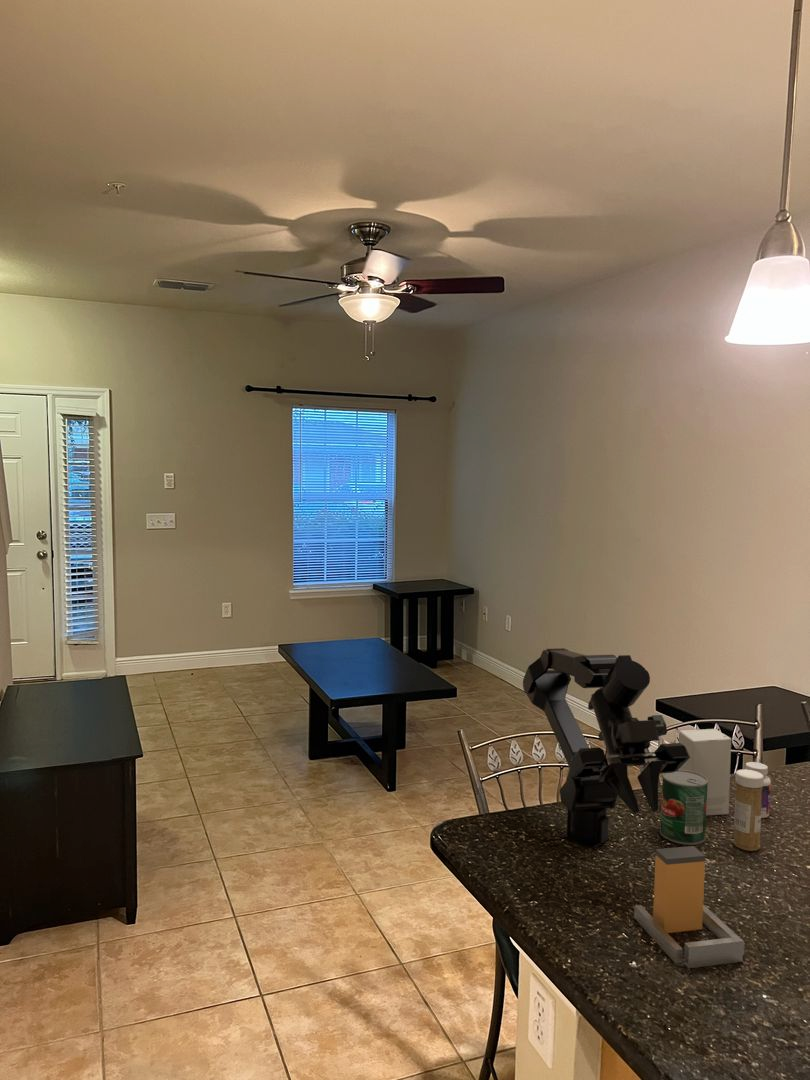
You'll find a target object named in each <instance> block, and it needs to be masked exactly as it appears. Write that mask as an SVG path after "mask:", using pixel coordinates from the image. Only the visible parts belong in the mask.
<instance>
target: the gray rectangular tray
mask: <svg viewBox="0 0 810 1080" xmlns="http://www.w3.org/2000/svg"><path fill="white" fill-rule="evenodd" d="M633 919H635V920H636V921H637V922H638V924H639V925H640V926H641V927H642V928H643V930H644V931H645V932H647V934H648V935H649V936H650V937H651V938H652V939H653V940H654V942H656V944H657V945H658V946H659V947H660V948H661V950H663V951H664V952H665V954H667V956H668V957H669V958H670V960H672V962H673V963H674V964H675V965H677V964H684V965H685V967H687V969H693V968H703V967H709V966H710V967H712V966H718V965H725V964H726V965H727V964H735V963H743V958H744V957H743V956H745V945H746V944H745V943H746V942H745V941H744V940H743V939H742V938H741V937H740V936H739V935H738V934H736V933H735V932H734V931H733V930H732V929H731V928H730V927H729V926H728V925H727V924H726V923H725V922H723V920H722V919H720V918H719V917H718V916H717V915H715V913H714V912H712V911H711V910H710V909H709V908H708V907H707V906H706V905H705V904H703V922H702V925H704V926H705V927H706V928H707V929H709V931H710V932H711V933H712V934H714V935H715V936H716V937H717V938H716V939H709V940H708V939H707V940H699V941H689V942H684V949H683V948H682V946H680V944H679V943H678V942H676V940H675V939H674V938H673V937H672V936H671V935H670V933H667V932H666V931H665V930H664V929H663V928H662V927H661V926H660V925H659V923H658V922H657V921H656V920H655V919H654V918H653V915H651V914H650V913H649V912H648V910H646V909H645V907H644V906H643V905H641V904H636V905H634V913H633ZM683 954H684V955H683Z"/></svg>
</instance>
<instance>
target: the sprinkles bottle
mask: <svg viewBox="0 0 810 1080" xmlns="http://www.w3.org/2000/svg"><path fill="white" fill-rule="evenodd" d="M734 781H735V785H736V786H735V798H734V813H733V814H734V819H733V822H734V823H733V826H734V829H733V839H732V844H733V845H734V846H735V847H736V848H738V849H740V850H743V851H748V852H756V851H758V850H760V848H761V830H762V829H761V827H762V826H761V825H762V824H761V823H762V818H761V797H762V796H761V795H762V786H763V782H764V777H763V775H762V774H761V773H759V772H757V771H753V770H746V769H745V768H744V769H737V770H736V771H735V780H734Z"/></svg>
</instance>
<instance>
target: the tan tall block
mask: <svg viewBox="0 0 810 1080" xmlns="http://www.w3.org/2000/svg"><path fill="white" fill-rule="evenodd" d="M654 858H655V860H654V861H655V862H654V880H653V881H654V882H653V883H654V884H653V887H654V888H653V905H652V906H653V907H652V908H653V909H652V910H653V911H652V917H653V918H654V919H655V920H656V921H657V922H658V923H659V925H660V926H661V927H662V928H663V929H664V930H665V931H666V932H667V933H668V934H671V933H681V932H690V931H697V930H703V923H702V922H703V905H704V898H705V897H704V896H705V895H704V894H705V871H706V855H705V854H704V853H703V852H702V851H700V850H699V849H697V847H695V845H689V846H688V845H687V846H680V847H679V846H677V847H667V848H666V847H665V848H656V849H655V857H654Z"/></svg>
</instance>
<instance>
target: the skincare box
mask: <svg viewBox="0 0 810 1080" xmlns="http://www.w3.org/2000/svg"><path fill="white" fill-rule="evenodd" d="M732 741H733V740H732V738H731V737H730V736H728V735H726V734H725V733H722V732H721V731H719V730H718V729H716V728H706V729H703V728H702V729H688V730H687V729H685V730H683V729H682V730H678V743H681V744H683V745H684V746H685V747H686V748H687V750H688V753H689V756H690V758H689V759H688V760H687V761H686V762H685V763H684V764H683V765H682V766H681V767H680V768H679V770H686V771H692V772H695V773H698V774H701V775H703V776H705V777H706V778H707V779H708V785H707V809H706V817H707V816H718V815H729V811H730V789H731V788H730V784H731V783H730V781H731V758H732V755H731V754H732V753H731V752H732Z"/></svg>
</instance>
